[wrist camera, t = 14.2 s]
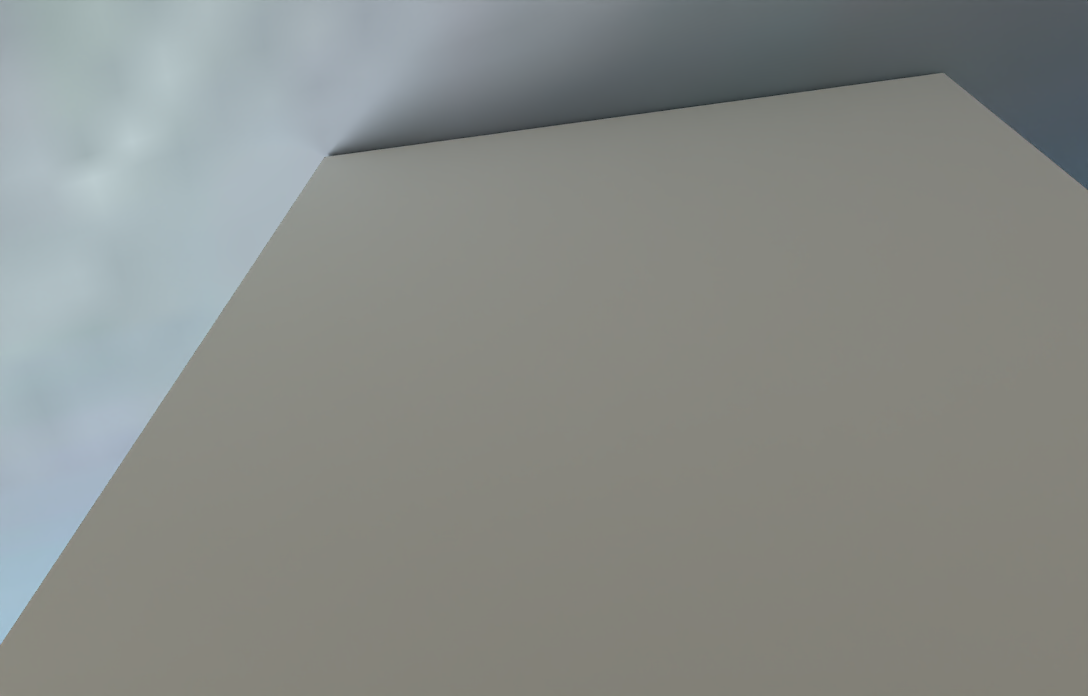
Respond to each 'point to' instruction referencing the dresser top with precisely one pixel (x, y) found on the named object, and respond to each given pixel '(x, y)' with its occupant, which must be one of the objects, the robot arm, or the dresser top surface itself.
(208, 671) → the white cube
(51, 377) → the dresser top surface
